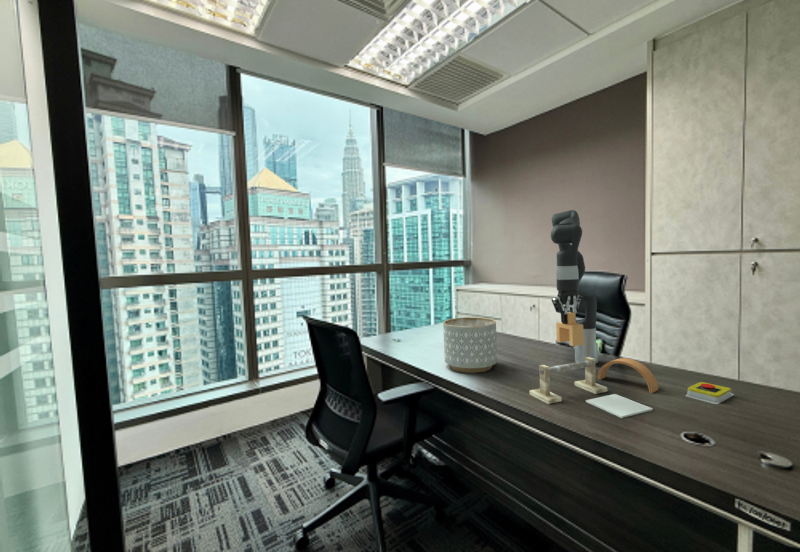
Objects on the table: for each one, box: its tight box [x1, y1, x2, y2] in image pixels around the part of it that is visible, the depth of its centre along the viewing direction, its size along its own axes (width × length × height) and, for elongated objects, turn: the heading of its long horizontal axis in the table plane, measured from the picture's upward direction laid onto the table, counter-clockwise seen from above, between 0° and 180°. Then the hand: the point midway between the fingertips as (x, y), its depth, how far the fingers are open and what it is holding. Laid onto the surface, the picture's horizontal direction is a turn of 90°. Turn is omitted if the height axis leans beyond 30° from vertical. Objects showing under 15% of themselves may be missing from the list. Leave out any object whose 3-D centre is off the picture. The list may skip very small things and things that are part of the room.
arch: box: [597, 357, 659, 394], centre depth 140 cm, size 6×20×10 cm, turn 32°
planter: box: [442, 316, 498, 374], centre depth 172 cm, size 26×26×22 cm
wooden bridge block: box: [555, 311, 584, 347], centre depth 132 cm, size 5×8×12 cm, turn 18°
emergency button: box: [685, 381, 734, 405], centre depth 126 cm, size 9×4×15 cm
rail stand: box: [529, 357, 608, 405], centre depth 134 cm, size 28×10×12 cm, turn 109°
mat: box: [585, 393, 654, 419], centre depth 121 cm, size 14×14×1 cm
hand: (568, 323), depth 132 cm, fingers closed on wooden bridge block, 3 cm apart
